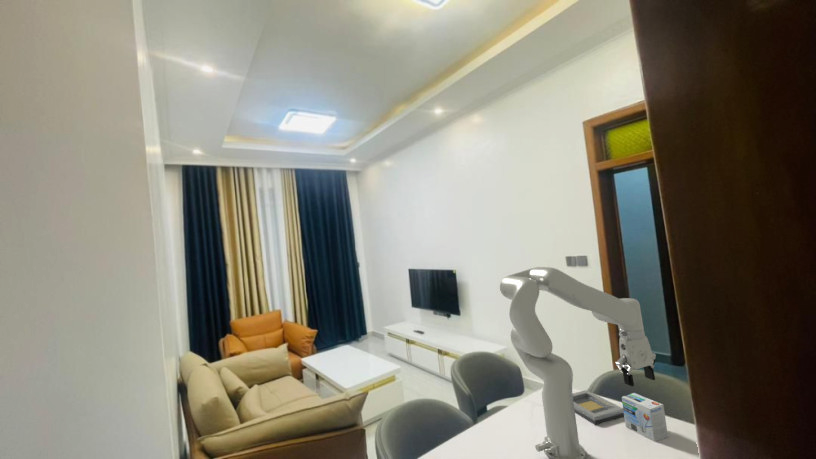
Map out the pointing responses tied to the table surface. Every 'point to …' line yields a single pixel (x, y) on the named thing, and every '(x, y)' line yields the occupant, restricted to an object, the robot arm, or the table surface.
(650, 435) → the light bulb box
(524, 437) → the table surface
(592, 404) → the gray rectangular frame
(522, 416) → the table surface
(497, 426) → the table surface
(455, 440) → the table surface
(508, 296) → the robot arm
